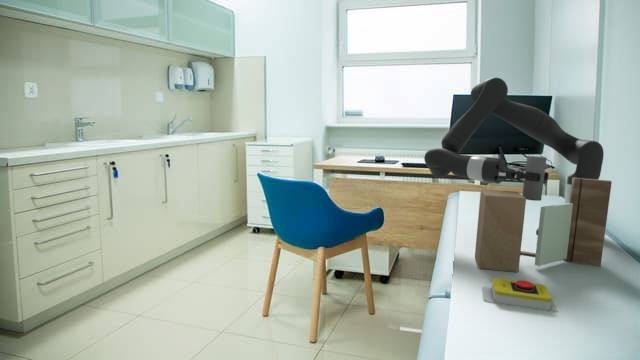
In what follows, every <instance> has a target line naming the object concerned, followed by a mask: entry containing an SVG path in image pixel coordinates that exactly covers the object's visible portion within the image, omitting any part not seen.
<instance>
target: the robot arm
mask: <svg viewBox="0 0 640 360" xmlns="http://www.w3.org/2000/svg"><path fill="white" fill-rule="evenodd" d="M508 93H509V88H508V85H507V83H506V81H505V80H503V78H500V77H491V78H488V79H486V80H484V81H481V82H479V83H477V84H476V85H475V86H473V88H472V89H471V91H470V99H471V101H472V103H473V104H472V105H471V107H470V108H469V109H468V110H467V111H466V112H465V113H464V114H463V115H462V116H461V117H459V119H457V120H456V121H455V122H454V123H453V125H452V126H451V127H450V129H449V130H448V131H447V133H446V134H445V135H444V136H443V138H442V140H441V147H433V148H431V149H429V150H427V151H426V153H425V154H424V157H423V158H424V159H423V160H424V163H425V165H426V166H427V168H428V169H429V172H430V173H431V174H432V176H434V177H435V178H437V179H441V178H442V179H443V178H445V177H447V176H448V175H449V174H450V173H452V175H454V176H456V177H457V178H463V179H470V180H474V181H478V182H484V183H493V184H498V185H499V184H501V183H502V182H503V181H504V179H505V180H508V181H510V180H512V181H518V182H519V181H523V182H524V180H530V181H537V182H539V181H541V174H539V173H531V172H526V171H525V169H526V166H525V167H524V166H523V167H522V166H516V165H506V161H505V159H503V158H500V157H499V158H498V157H491V156H490V157H489V156H482V155H481V156H480V155H479V156H474V155H466V154H464V155H463V154H460V153H461V151H462V149H463V148H464V147H465V146H466V144H467V143H468V141H469V140H470V138H471V137H472V136H473V135H474V133H475V132H476V131H477V129H478V128H479V127H480V125H482V123H483V122H484V121H485V120H486V118H488V117H489V116H490V114H492V115H494V116H496V117H498V118H500V120H501V119H502V120H503V121H505V122H506V123H508V124H509V125H512V127H515V128H517V129H518V130H519V131H520V132H523V134H526V135H527V136H529V137H531V138H532V139H534V140H536V141H538V142H540V143H542V144H544V146H547V147H549V148H551V149H553V150H554V151H556V152H557V153H558V154H559V155H561V156H562V157H563V158H565V159H566V160H567V161H568V162H569V163H571V164H573V165H576V166H575V171H574V172H573V173H572V174H569V175H567V179H566V186H565V187H566V189H565V195H564V196H565V197H564V203H570V195H571V186H572V178H585V179H597V180H600V177H601V173H602V167H603V162H604V148H603V146H602V144H601V143H599V142H598V141H595V140H589V139H581V138H578V137H575V136H573V135H571V134H569V132H566V131H565V130H563V128H561V126H560V125H559V123H558V122H557V121H556V119H554V118H553V117H552V116H551V115H549V114H548V113H546V112H544V111H542V110H541V109H540V108H537V107H534V106H531V105H527V104H523V103H519V102H517V101H516V102H515V101H512V100H510V99H508V98H507V96H508ZM548 180H549V172H547V171H545V174H544V181H548Z"/></svg>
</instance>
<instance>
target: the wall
mask: <svg viewBox="0 0 640 360" xmlns="http://www.w3.org/2000/svg"><path fill="white" fill-rule="evenodd" d="M612 184H613V183H612V180H607V179H606V180H605V179H598V180H597V179H585V178H572V186H571V195H570V203H573V209H572V217H571V226H570V234H569V242H568V250H567V259H564V260H562V261H563V262H568V263H573V264H574V263H576V264H581V265H589V266H593V267H594V266H595V267H602V266H601V265H602V258H603V251H604V242H605V238H606V237H605V236H606V227H607V221H608V211H609V205H610V199H611V197H610V196H611V191H612V190H611V189H612ZM520 255H523V256H528V257H535V256H536V252H530V251H525V250H521V253H520Z"/></svg>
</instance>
